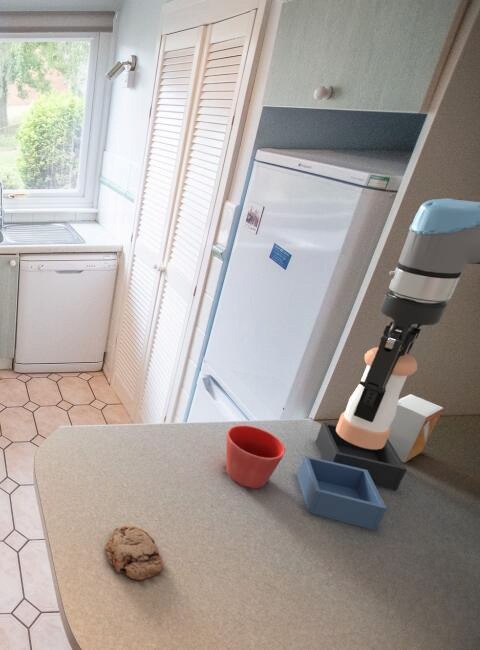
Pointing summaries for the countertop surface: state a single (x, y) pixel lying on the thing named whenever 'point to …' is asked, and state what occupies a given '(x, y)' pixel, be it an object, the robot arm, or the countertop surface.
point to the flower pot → (252, 455)
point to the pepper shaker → (379, 429)
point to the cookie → (134, 553)
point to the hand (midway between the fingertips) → (370, 410)
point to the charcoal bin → (362, 457)
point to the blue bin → (340, 492)
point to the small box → (412, 425)
